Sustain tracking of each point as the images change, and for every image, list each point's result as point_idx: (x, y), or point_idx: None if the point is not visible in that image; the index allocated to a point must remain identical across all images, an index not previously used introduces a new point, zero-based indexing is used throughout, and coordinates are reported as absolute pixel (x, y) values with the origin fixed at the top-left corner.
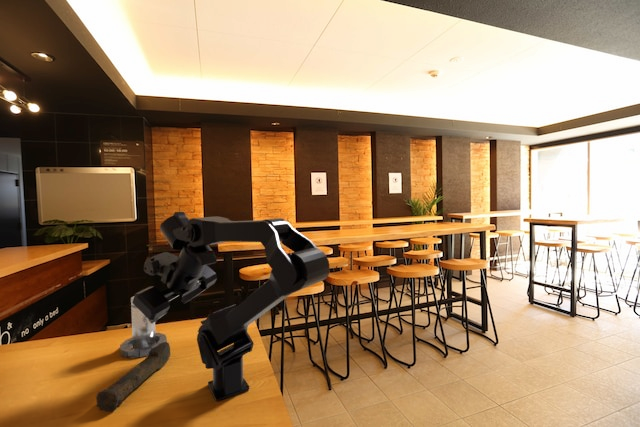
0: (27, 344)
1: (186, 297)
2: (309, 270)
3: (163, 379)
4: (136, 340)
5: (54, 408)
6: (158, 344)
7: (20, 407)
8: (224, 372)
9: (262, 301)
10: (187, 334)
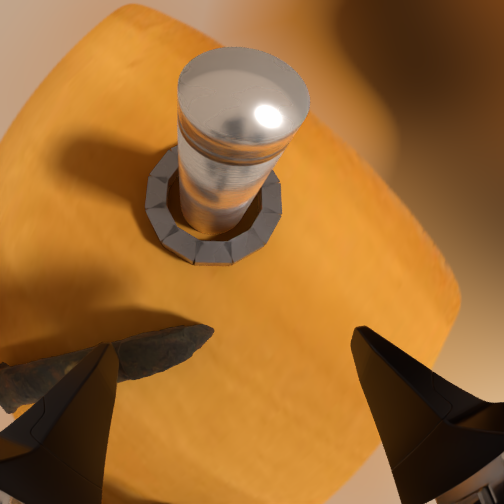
0: (139, 10)
1: (372, 383)
2: None
3: (125, 411)
4: (180, 195)
5: None
6: (222, 257)
7: None
8: None
9: None
10: (333, 252)
